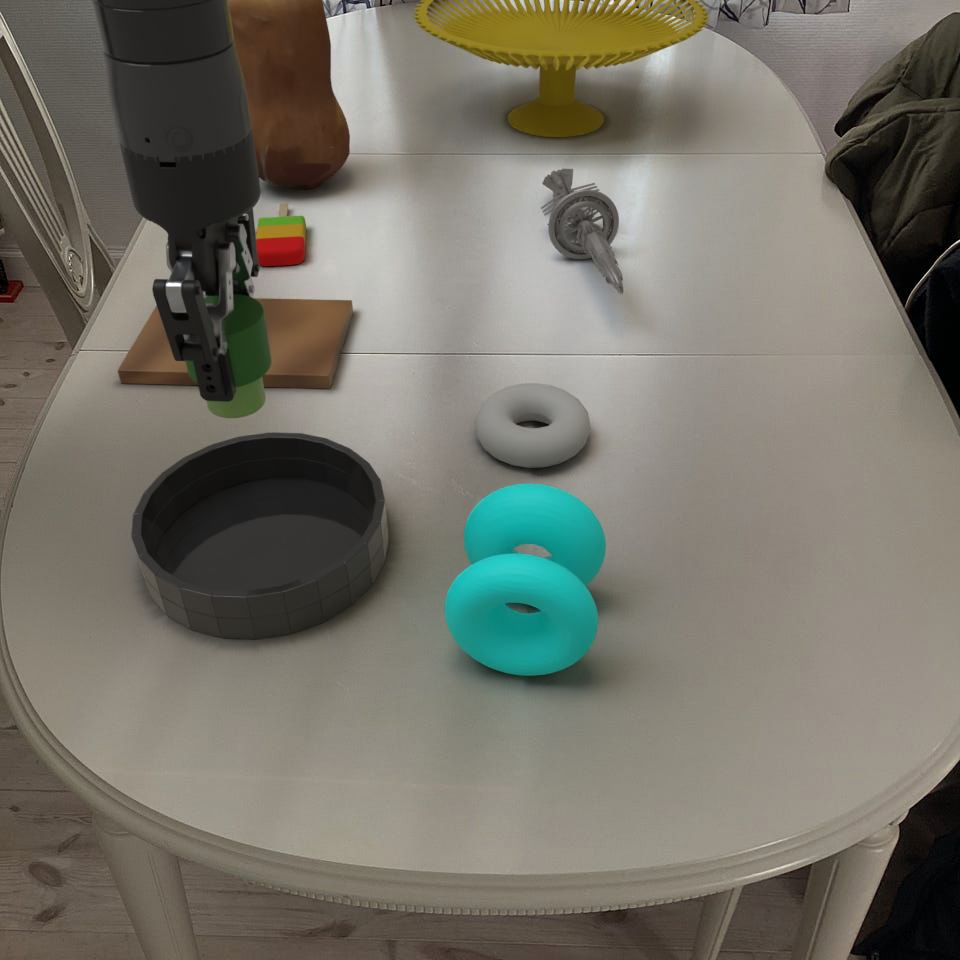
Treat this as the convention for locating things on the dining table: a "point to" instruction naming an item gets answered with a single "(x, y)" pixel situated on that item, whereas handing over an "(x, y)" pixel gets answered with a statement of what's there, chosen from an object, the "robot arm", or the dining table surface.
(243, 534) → the pan
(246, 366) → the green cylinder
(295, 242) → the popsicle
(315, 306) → the board
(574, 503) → the donuts
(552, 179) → the spaceship
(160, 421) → the dining table surface
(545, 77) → the cake stand
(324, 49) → the butternut squash
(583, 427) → the donut
